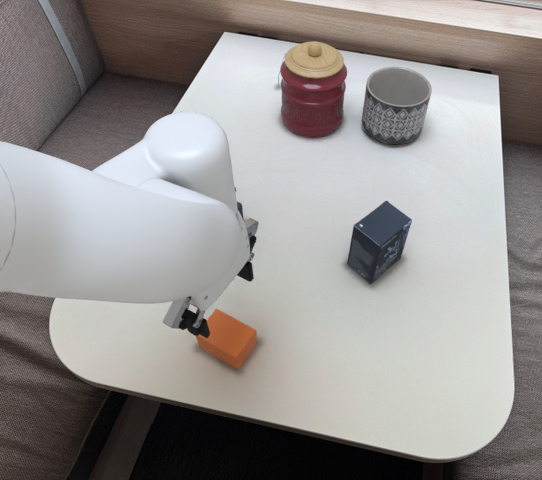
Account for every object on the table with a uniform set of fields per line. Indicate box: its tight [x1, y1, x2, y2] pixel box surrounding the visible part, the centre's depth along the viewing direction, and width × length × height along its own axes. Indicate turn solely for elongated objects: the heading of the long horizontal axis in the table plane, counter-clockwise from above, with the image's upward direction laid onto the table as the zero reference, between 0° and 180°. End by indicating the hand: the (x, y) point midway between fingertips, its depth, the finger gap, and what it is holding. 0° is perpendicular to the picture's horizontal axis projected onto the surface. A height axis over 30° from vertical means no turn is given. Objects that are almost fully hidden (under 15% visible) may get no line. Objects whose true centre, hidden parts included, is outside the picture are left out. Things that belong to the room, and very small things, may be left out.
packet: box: [195, 308, 258, 370], centre depth 76 cm, size 5×7×4 cm
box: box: [346, 200, 413, 284], centre depth 84 cm, size 8×6×11 cm
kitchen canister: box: [279, 40, 348, 139], centre depth 103 cm, size 13×13×18 cm
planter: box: [361, 66, 433, 145], centre depth 105 cm, size 13×13×10 cm
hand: (221, 302), depth 68 cm, fingers open, 9 cm apart
